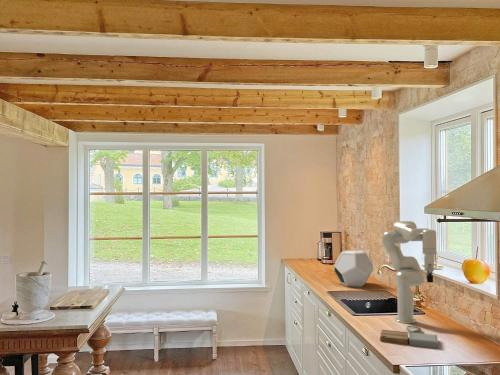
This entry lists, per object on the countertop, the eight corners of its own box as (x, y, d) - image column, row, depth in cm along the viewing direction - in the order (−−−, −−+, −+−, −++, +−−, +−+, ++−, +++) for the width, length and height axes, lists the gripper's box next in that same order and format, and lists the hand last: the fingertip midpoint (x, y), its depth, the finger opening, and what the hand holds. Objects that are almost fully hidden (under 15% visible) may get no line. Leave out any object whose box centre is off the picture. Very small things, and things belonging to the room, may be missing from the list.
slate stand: (409, 337, 253) (409, 331, 253) (436, 340, 248) (436, 334, 248) (409, 345, 240) (409, 339, 240) (438, 348, 235) (438, 342, 235)
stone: (403, 329, 267) (403, 324, 267) (418, 330, 267) (418, 324, 267) (411, 335, 255) (411, 329, 255) (427, 336, 255) (427, 330, 255)
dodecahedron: (380, 287, 389) (380, 252, 390) (341, 289, 383) (341, 254, 383) (363, 280, 422) (363, 248, 423) (327, 282, 416) (327, 249, 416)
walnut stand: (381, 335, 258) (381, 329, 258) (407, 337, 254) (407, 332, 254) (380, 342, 245) (380, 336, 245) (407, 345, 240) (407, 339, 240)
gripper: (422, 249, 271) (422, 277, 271) (422, 252, 255) (423, 283, 254) (435, 249, 268) (436, 278, 268) (437, 253, 252) (437, 284, 252)
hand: (429, 280), depth 261 cm, fingers open, 9 cm apart
